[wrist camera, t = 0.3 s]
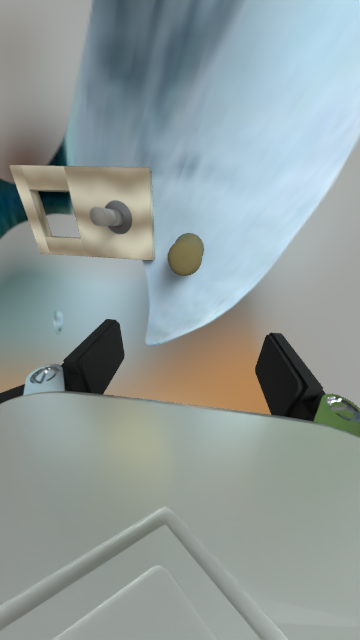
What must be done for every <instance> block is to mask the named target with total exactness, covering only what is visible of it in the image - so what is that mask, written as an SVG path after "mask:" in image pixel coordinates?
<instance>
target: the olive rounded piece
mask: <svg viewBox="0 0 360 640" xmlns="http://www.w3.org/2000/svg"><path fill="white" fill-rule="evenodd" d="M203 252H204V246H203V243H202V241H201V239H200V238H199V237H198V236H197V235H195V234H192V233H187V234H183V235H181V236H180V237H179V238H178V239H177V240H176V242H175V244H173V246H172V247H171V248H170V250H169V253H168V262H169V266H170V267H171V269H172V270H173V271H174V272H175V273H176V274H178V275H182V276H187V275H191V274H193V273H195V272H196V271H197V270H198V269H199V267H200V265H201V261H202V256H203Z"/></svg>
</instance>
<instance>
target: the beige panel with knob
mask: <svg viewBox="0 0 360 640" xmlns="http://www.w3.org/2000/svg"><path fill="white" fill-rule="evenodd" d="M9 167H10V169H11V172H12V175H13V178H14V180H15V183H16V186H17V189H18V192H19V195H20V197H21V200H22V203H23V206H24V209H25V211H26V214H27V217H28V220H29V223H30V225H31V228H32V231H33V234H34V237H35V239H36V242H37V245H38V248H39V250H40V253H42V254H59V255H76V256H92V257H108V258H124V259H140V260H153V259H155V250H154V223H153V196H152V171H151V170H150V169H149V168H140V167H84V166H26V165H9ZM38 191H50V192H70V195H71V200H72V204H73V208H74V212H75V217H76V221H77V225H78V229H79V234H80V238H75V237H55V236H52V234H51V231H50V227H49V224H48V221H47V218H46V214H45V211H44V208H43V205H42V201H41V198H40V195H39V192H38Z"/></svg>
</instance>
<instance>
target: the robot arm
mask: <svg viewBox="0 0 360 640" xmlns="http://www.w3.org/2000/svg"><path fill="white" fill-rule="evenodd" d="M123 359H124V349H123V343H122V337H121V330H120V324H119V323H118V322H117V321H116V320H111V319H106V320H105V321H104V322H103V323H102V324H101V325H100V326H99V327H98V328H97V329H96V330H95V331H94V332H92V334H91V335H89V336H88V337H87V338H86V339H85V340H84V341H83V342H82V343H81V344H80V345H79V346H78V347H77V348H76V349H75V350H74V351H73V352H72V353H71V354H69V355H68V357H66V358H65V359H64V363H63V364H62V365H59V364H49V365H45V366H42V367H40V368H38V369H36V370H34V371H33V372H32V373H30V374H29V376H28V377H27V379H26V381H25V384H24V385H21V386H18V387H16V388H13V389H10V390H8V391H5V392H2V393H0V640H360V408H359V407H358V406H357V405H355V404H354V403H353V402H351V401H349V400H348V399H346V398H344V397H341V396H339V395H335V394H325V392H324V391H323V390H322V389H323V387H322V386H321V384H320V383H319V382H318V381H317V379H316V378H315V377H314V375H313V374H312V373H311V371H310V370H309V369H308V368H307V366H306V365H305V364H304V362H303V361H302V360H301V359H300V357H299V356H298V355H297V354H296V352H295V351H294V349H293V348H292V347H291V345H290V344H289V343H288V342H287V340H286V339H285V338H284V336H283V335H282V334H280V333H270V334H269V335H266V337H265V340H264V343H263V346H262V350H261V353H260V356H259V359H258V361H257V365H256V368H255V372H256V375H257V378H258V381H259V383H260V385H261V388H262V391H263V393H264V396H265V399H266V402H267V404H268V407H269V409H270V412H271V415H268V414H261V413H253V412H245V411H237V410H230V409H222V408H214V407H206V406H198V405H189V404H181V403H173V402H164V401H156V400H147V399H139V398H130V397H121V396H113V395H103V393H104V391H105V390H106V388H107V386H108V385H109V383H110V381H111V380H112V378H113V376H114V375H115V373H116V371H117V369H118V368H119V366H120V364H121V362H122V361H123Z"/></svg>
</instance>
